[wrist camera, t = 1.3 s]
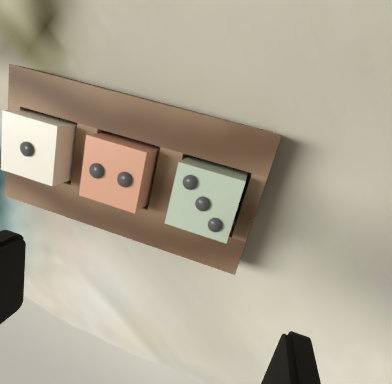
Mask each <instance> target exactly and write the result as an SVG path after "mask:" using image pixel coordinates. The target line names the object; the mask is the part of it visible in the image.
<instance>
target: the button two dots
mask: <svg viewBox="0 0 392 384" xmlns="http://www.w3.org/2000/svg"><path fill="white" fill-rule="evenodd" d="M159 152H160V148H158V147H154V146H151V145H147V144H144V143H141V142H137V141H134V140H130V139H127V138H123V137H120V136H116V135H113V134H109V133H99V134H89V135H86V140H85V149H84V157H83V166H82V174H81V182H80V191H79V195H80V196H83V197H86V198H89V199H92V200H95V201H98V202H101V203H104V204H107V205H110V206H113V207H116V208H119V209H122V210H125V211H129V212H132V213H137V212H138V211H139V210H140V209H142V208H143V207H144V206H146V205H147V204H148V203H149V201H150V196H151V191H152V186H153V181H154V176H155V172H156V167H157V162H158V157H159Z"/></svg>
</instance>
